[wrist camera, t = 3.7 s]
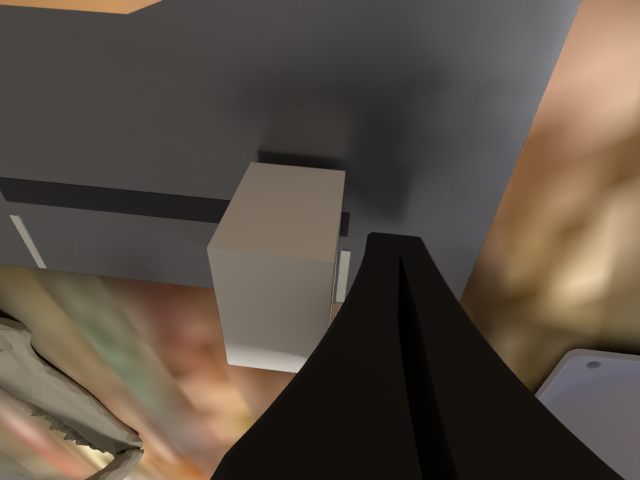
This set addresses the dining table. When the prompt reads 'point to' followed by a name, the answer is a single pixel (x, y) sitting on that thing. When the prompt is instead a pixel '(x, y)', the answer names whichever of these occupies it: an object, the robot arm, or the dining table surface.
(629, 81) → the dining table surface
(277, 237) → the block
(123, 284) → the dining table surface
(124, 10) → the fader orange
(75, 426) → the jawbone
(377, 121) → the panel
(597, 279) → the dining table surface
